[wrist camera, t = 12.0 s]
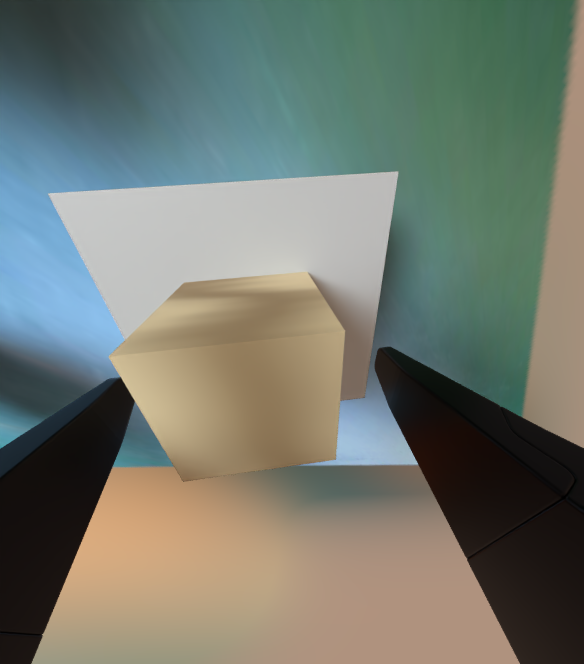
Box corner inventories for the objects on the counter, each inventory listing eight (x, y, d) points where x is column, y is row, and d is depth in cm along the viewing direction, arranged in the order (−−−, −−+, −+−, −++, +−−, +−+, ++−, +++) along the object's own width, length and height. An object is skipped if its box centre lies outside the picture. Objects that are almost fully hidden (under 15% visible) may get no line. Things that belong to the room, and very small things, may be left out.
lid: (174, 409, 14) (168, 422, 13) (71, 194, 8) (47, 193, 7) (358, 386, 14) (364, 397, 13) (384, 174, 9) (398, 171, 8)
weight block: (213, 376, 11) (183, 481, 7) (184, 282, 9) (108, 356, 5) (309, 365, 12) (335, 459, 7) (307, 271, 9) (345, 331, 5)
